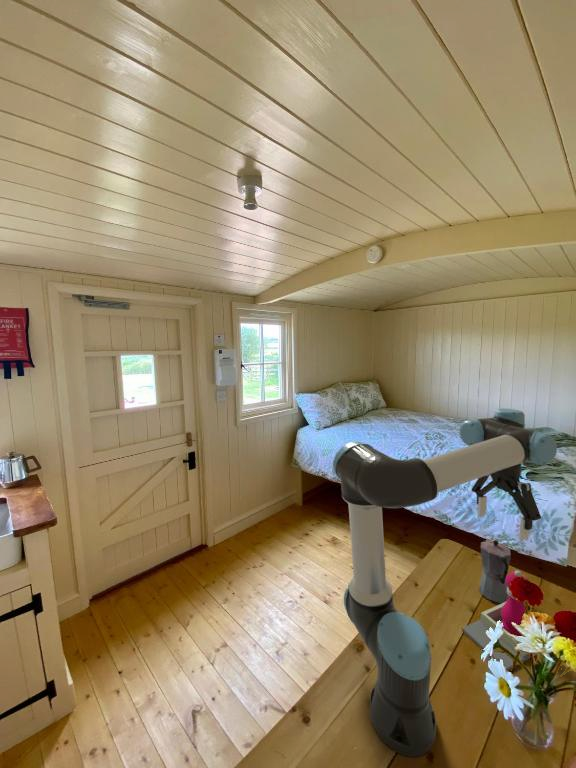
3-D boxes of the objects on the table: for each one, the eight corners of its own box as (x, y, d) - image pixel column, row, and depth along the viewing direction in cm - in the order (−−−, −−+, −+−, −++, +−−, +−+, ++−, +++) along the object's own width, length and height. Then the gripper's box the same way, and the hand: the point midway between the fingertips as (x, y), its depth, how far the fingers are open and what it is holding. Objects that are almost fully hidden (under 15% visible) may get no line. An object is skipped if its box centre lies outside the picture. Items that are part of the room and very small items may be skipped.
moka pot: (497, 580, 123) (500, 531, 121) (522, 613, 108) (526, 558, 105) (470, 579, 124) (473, 530, 122) (491, 612, 109) (495, 557, 106)
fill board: (505, 671, 89) (506, 658, 89) (461, 630, 102) (462, 619, 102) (552, 645, 96) (554, 633, 96) (506, 610, 109) (507, 599, 109)
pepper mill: (504, 637, 98) (508, 577, 96) (497, 618, 105) (500, 561, 103) (532, 643, 96) (537, 581, 94) (523, 623, 103) (527, 565, 100)
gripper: (560, 473, 87) (554, 546, 90) (478, 446, 111) (475, 505, 113) (542, 477, 85) (535, 552, 87) (462, 449, 108) (458, 509, 111)
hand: (501, 526), depth 100 cm, fingers open, 13 cm apart
